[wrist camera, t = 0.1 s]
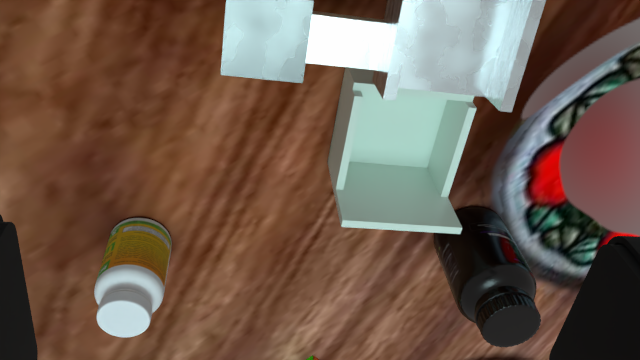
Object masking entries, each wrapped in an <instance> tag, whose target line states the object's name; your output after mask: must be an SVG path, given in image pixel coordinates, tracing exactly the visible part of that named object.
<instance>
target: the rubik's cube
mask: <svg viewBox="0 0 640 360" xmlns="http://www.w3.org/2000/svg"><path fill="white" fill-rule="evenodd" d="M306 360H319V359H317V358H316V357H315V356H311V357H310V358H308V359H306Z"/></svg>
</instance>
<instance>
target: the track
mask: <svg viewBox="0 0 640 360" xmlns="http://www.w3.org/2000/svg"><path fill="white" fill-rule="evenodd" d="M545 2H546V0H387V5H386V10H385V15H384V20H382V19H374V18H366V17H358V16H349V15H341V14H333V13H325V12H317V11H313V4H314V0H226V8H225V22H224V36H223V50H222V63H221V75H227V76H237V77H247V78H257V79H266V80H276V81H286V82H296V83H303V77H304V70H305V63H312V64H321V65H331V66H340V67H349V68H359V69H368V70H374V73H373V78H372V81H373V83H374V85H375V86H376V88H377V90H378V92H379V93H380V95H381V97H382V99H385V100H395V101H396V96H397V91H398V88H404V89H414V90H424V91H433V92H443V93H453V94H463V95H472V96H482V97H486V98H487V99H488V100H489V101H490V102H491V103H492V104H493V105H494V106H495V107H496V108H497V109H498V110H499V111H506V112H512V109H513V106H514V102H515V99H516V96H517V93H518V89H519V86H520V83H521V80H522V76H523V73H524V70H525V67H526V63H527V60H528V57H529V54H530V50H531V47H532V44H533V41H534V38H535V34H536V31H537V28H538V25H539V21H540V18H541V15H542V12H543V8H544V5H545Z"/></svg>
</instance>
